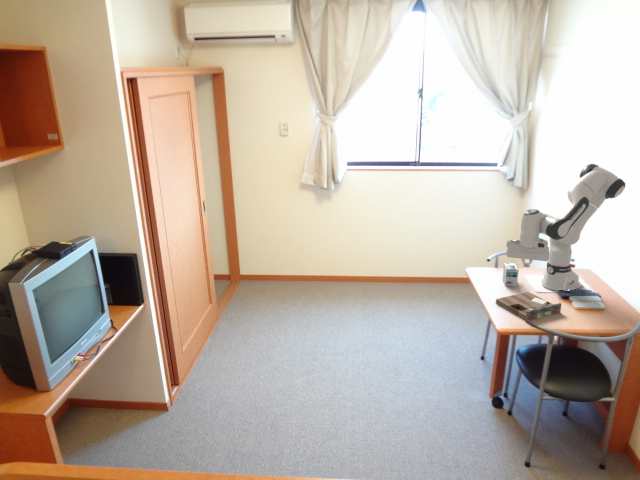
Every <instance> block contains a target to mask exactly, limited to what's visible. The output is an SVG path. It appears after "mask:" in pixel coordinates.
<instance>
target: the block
mask: <svg viewBox="0 0 640 480" xmlns="http://www.w3.org/2000/svg"><path fill="white" fill-rule="evenodd" d="M542 299H543V298H542ZM542 299H539V298H534V299H533V300H531V305H530V307H533V308H536V309H538V308H542V307H546V305H547V300H546V301H545V299H544V300H542Z"/></svg>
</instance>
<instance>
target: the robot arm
mask: <svg viewBox="0 0 640 480" xmlns="http://www.w3.org/2000/svg"><path fill="white" fill-rule="evenodd" d="M625 188H626V182H625V181H624V180H623V179H621V178H619V177H618V176H617V175H616V174H614V173H613V172H611V171H609V170H607V169H605V168H602V167H600V166H599V165H598V164H595V163H591V164H590V163H589V164H587V165H586V166H585V167H583V169H582V170H581V171H580V173H579V178H578V179H577V180H576V181H575V182H574V183H573V184H571V185H570V187H569V188H568V190H567V198H568V201H569V202H570V203H571V204H572V205H571V206H570V207H569V210H568V211H567V212H566V213H565V214H564V215H563V216H562V217H555V216H552V215H549V214H547V213H543V212H541V211H540V210H539V209H534V208H533V209H531V208H530V209H528V210H525V211H524V212H523V214H522V217H521V220H520V233H519V240H515V239H510V240H507V241H506V248H507V249H506V254H505V255H506V256H507V258H514V259H521V262H522V264H523V265H522V266H523V267H525V268H530V265H531V264H532V263H533V261H542V262H546V268H545V272H544V274H543V278H542V279H541V286H542V287H544V288H545V289H548V290H552V291H557V292H560V291H559V290H561V289H562V290H568V289H570V290H573V289H576V290H577V288H578V289H580V288H582V287H583V286H584V285H583V283H582V282H580V281H579V279H580V278H579V275H578V274H577V273H576V272H574V270H573V269H574V268H575V267H576V264H574V263H571V260H572V259H571V258H572V252H573V250H572V246H571V245H574V244H577V242H578V241H579V240H580V237H581V233H582V231H583V229H584V227H586V226H585V225H586V224H587V222H588V221H589V220H590V219H591V217H593V215H594V214H595V213H596V212H597V210H598V209H599V208H601V206H602V205H603V203H604V202H605V200H608V199H615V198H617V197H618V196H620V195H621V194H622V193H623V192H624V190H625ZM540 234H543V235H545V236H547V237H549V243H548V240H546V239H543V238H541V237H540ZM525 260H529V262H526V261H525ZM572 268H573V269H572ZM573 291H574V290H573Z"/></svg>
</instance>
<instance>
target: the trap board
mask: <svg viewBox="0 0 640 480" xmlns="http://www.w3.org/2000/svg"><path fill="white" fill-rule="evenodd" d="M534 298H539V299H542V300H545V299H543V298H541V297H539V296H537V295H536V294H534V293H532V292H530V291H524V292H521V293H516V294H511V295H508V296H504V297H500V298H496V299H495V304H496V305H498V306H500V307H502V308H503V309H505V310H507V311H508V312H510V313H512V314H514V315H516V316H517V317H519V318H521V319H522V320H524V321H526V320H530V321H533V320H537V319H540V318H544V317H548V316H553V315H556V314H559V313H561V312H562V311H561V309H562V302H558V303H554V304H553V303H551V302H550V301H547V300H545V301H547V305H546V307H542V308H538V309H536V308H533V307H530V305H531V300H533V299H534Z"/></svg>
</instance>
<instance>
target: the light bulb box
mask: <svg viewBox="0 0 640 480" xmlns="http://www.w3.org/2000/svg"><path fill="white" fill-rule="evenodd" d="M518 277H519V267H518V266H517V264H516V263H515V262H504V263H503V270H502V282H503V284H504V286H505V287H517V286H518Z"/></svg>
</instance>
